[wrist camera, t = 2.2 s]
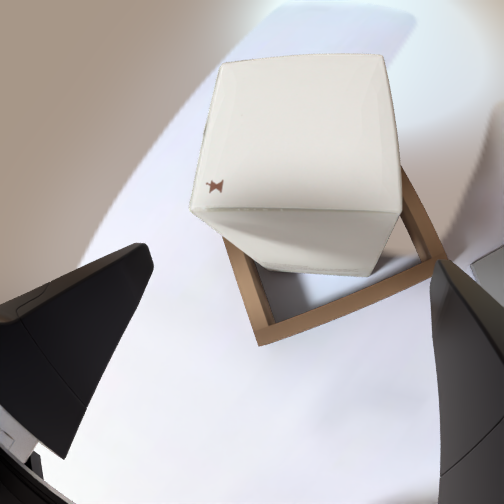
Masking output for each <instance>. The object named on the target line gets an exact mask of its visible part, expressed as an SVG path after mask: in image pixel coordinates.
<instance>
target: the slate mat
mask: <svg viewBox="0 0 504 504" xmlns="http://www.w3.org/2000/svg"><path fill="white" fill-rule="evenodd" d="M470 267H471V269H472V272H473V274H474V277H475V279H476V282H477V283H478V284H479V285H480V286H481V287H482V288H483V289H484V290H486V291H487V292H488V293H489V294H490V295H491V296H492V297H493V298H494V299H495V300H496V301H498V302H499V303H500V304H501V305H502V306H503V307H504V246H503V247H501V248H500V249H498V250H496V251H495V252H493V253H491V254H489V255H488V256H486V257H484V258H482V259H480V260H479V261H477V262H475V263H473V264H471V265H470Z"/></svg>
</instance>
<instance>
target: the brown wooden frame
mask: <svg viewBox="0 0 504 504" xmlns="http://www.w3.org/2000/svg"><path fill="white" fill-rule="evenodd" d="M401 179H402V212H401V214H400V216H401V218H402V220H403V223H404V225H405V227H406V229H407V230H408V233H409V235H410V237H411V240H412V242H413V244H414V246H415V248H416V251H417V253H418V255H419V257H420V260H421V262H422V263H420V264H418V265H416V266H414V267H412V268H409V269H407V270H405V271H403V272H401V273H399V274H396V275H394V276H392V277H390V278H387V279H385V280H383V281H381V282H378V283H376V284H374V285H371V286H369V287H367V288H364V289H362V290H360V291H357V292H355V293H353V294H350V295H348V296H345V297H343V298H340V299H338V300H336V301H333V302H331V303H328V304H326V305H323V306H321V307H318V308H316V309H313V310H310V311H308V312H305V313H303V314H300V315H297V316H295V317H292V318H289V319H287V320H284V321H281V322H279V323H275V320H274V317H273V314H272V311H271V308H270V305H269V303H268V300H267V297H266V294H265V291H264V288H263V285H262V283H261V280H260V277H259V274H258V271H257V268H256V265H255V263H254V260H253V259H252V258H251V257H250V256H248V255H247V254H246V253H244V252H243V251H242V250H240V249H239V248H238V247H236V246H235V245H234V244H232V243H231V242H230V241H229V240H227V239H226V238H225V237H223V236H222V237H223V241H224V244H225V247H226V250H227V253H228V256H229V259H230V262H231V265H232V268H233V271H234V275H235V278H236V281H237V284H238V287H239V290H240V293H241V296H242V299H243V302H244V305H245V308H246V311H247V314H248V317H249V320H250V323H251V326H252V329H253V332H254V334H255V337H256V340H257V343H258V346H263V345H267V344H270V343H273V342H276V341H279V340H282V339H284V338H287V337H290V336H293V335H296V334H298V333H301V332H304V331H306V330H309V329H312V328H314V327H317V326H320V325H322V324H325V323H327V322H330V321H332V320H335V319H337V318H340V317H342V316H345V315H347V314H350V313H352V312H355V311H357V310H359V309H362V308H364V307H367V306H369V305H371V304H374V303H376V302H378V301H380V300H383V299H385V298H387V297H390V296H392V295H394V294H396V293H398V292H401V291H403V290H405V289H407V288H409V287H411V286H414V285H416V284H418V283H420V282H422V281H424V280H426V279H428V278H430V277H432V274H433V270H434V266H435V263H436V261H437V260H438V259H445V260H448V258H447V255H446V253H445V251H444V248H443V246H442V244H441V242H440V240H439V237H438V235H437V233H436V231H435V229H434V227H433V225H432V223H431V220H430V219H429V216H428V215H427V212H426V211H425V208H424V207H423V205H422V203H421V201H420V199H419V197H418V195H417V194H416V191H415V189H414V188H413V186H412V184H411V182H410V181H409V179H408V177H407V175H406V173H405V172H404V170H403V168H402V166H401Z"/></svg>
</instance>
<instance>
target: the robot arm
mask: <svg viewBox="0 0 504 504" xmlns="http://www.w3.org/2000/svg"><path fill="white" fill-rule="evenodd" d="M153 269H154V264H153V260H152V257H151V254H150V251H149V248H148V246H147V245H146V244H145V243H134V244H131V245H129V246H127V247H125V248H122V249H120V250H118V251H115V252H113V253H111V254H109V255H106V256H104V257H102V258H100V259H98V260H95V261H93V262H91V263H89V264H87V265H84V266H82V267H80V268H78V269H76V270H74V271H72V272H69V273H67V274H65V275H63V276H61V277H59V278H57V279H55V280H53V281H51V282H48V283H46V284H44V285H42V286H40V287H38V288H36V289H34V290H32V291H30V292H27V293H25V294H23V295H21V296H19V297H16V298H14V299H12V300H9V301H7V302H5V303H3V304H1V305H0V504H76V503H74V502H73V501H71V500H70V499H68V498H67V497H65V496H64V495H63V494H61V493H60V492H58V491H57V490H56V489H54V488H53V487H52V486H50V485H49V484H48V483H46V482H45V481H44V479H43V472H42V466H41V459H40V455H39V454H37V453H36V452H35V451H33V450H34V448H35V447H36V445H37V444H38V442H39V443H40V444H42V445H43V446H45V447H46V448H47V449H49V450H50V451H52V452H53V453H54V454H56V455H57V456H59V457H60V458H62V459H63V460H64V459H65V458H66V456H67V454H68V451H69V449H70V446H71V444H72V442H73V439H74V437H75V435H76V432H77V430H78V428H79V425H80V423H81V421H82V419H83V416H84V414H85V412H86V410H87V408H86V407H88V405H89V403H90V400H91V398H92V396H93V394H94V392H95V390H96V388H97V386H98V383H99V381H100V379H101V377H102V375H103V373H104V371H105V369H106V367H107V365H108V363H109V361H110V359H111V357H112V355H113V353H114V351H115V349H116V347H117V345H118V343H119V341H120V339H121V337H122V335H123V333H124V331H125V330H126V328H127V326H128V324H129V322H130V320H131V318H132V316H133V314H134V313H135V311H136V309H137V307H138V305H139V302H140V300H141V298H142V295H143V293H144V291H145V288H146V286H147V284H148V281H149V279H150V277H151V275H152V272H153ZM430 302H431V320H432V338H433V347H434V354H435V363H436V372H437V382H438V394H439V410H440V440H441V456H440V483H439V498H438V504H504V307H503V306H502V305H501V304H500V303H499V302H498V301H496V300H495V299H494V298H493V297H492V296H491V295H490V294H489V293H488V292H487V291H486V290H484V289H483V288H482V287H481V286H480V285H479V284H478V283H477V282H475V281H474V280H473V279H472V278H471V277H470V276H469V275H467V274H466V273H465V272H464V271H463V270H462V269H460V268H459V267H458V266H457V265H456V264H454V263H453V262H452V261H451V260H445V259H438V260H437V261H436V263H435V266H434V270H433V274H432V278H431V282H430Z"/></svg>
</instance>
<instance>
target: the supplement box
mask: <svg viewBox="0 0 504 504" xmlns="http://www.w3.org/2000/svg"><path fill="white" fill-rule="evenodd" d="M189 211H190V212H191V213H193V214H194V215H195V216H196V217H198V218H199V219H201V220H202V221H203V222H205V223H206V224H207V225H209V226H210V227H211V228H212V229H214V230H215V231H216V232H218V233H219V234H220V235H222V236H223V237H225V238H226V239H227V240H229V241H230V242H231V243H232V244H234V245H235V246H236V247H238V248H239V249H240V250H242V251H243V252H244V253H246V254H247V255H248V256H250V257H251V258H252V259H254V260H255V261H256V262H258V263H259V264H260V265H262V266H263V267H264V268H266V269H267V270H268V271H279V272H294V273H308V274H323V275H337V276H353V277H369V276H370V275H371V273H372V271H373V269H374V267H375V265H376V263H377V261H378V259H379V257H380V255H381V253H382V251H383V249H384V247H385V245H386V243H387V241H388V239H389V236H390V234H391V232H392V230H393V228H394V226H395V224H396V222H397V220H398V217H399V215H400V214H401V212H402V179H401V165H400V155H399V144H398V136H397V128H396V121H395V114H394V108H393V102H392V97H391V91H390V85H389V79H388V75H387V70H386V66H385V62H384V58H383V56H382V55H375V54H305V55H291V56H280V57H270V58H261V59H251V60H242V61H235V62H226V63H223V64H222V65H221V66H220V68H219V71H218V75H217V79H216V83H215V88H214V92H213V96H212V100H211V104H210V108H209V113H208V117H207V121H206V124H205V128H204V132H203V139H202V144H201V149H200V154H199V159H198V164H197V169H196V174H195V179H194V184H193V189H192V194H191V199H190V202H189Z"/></svg>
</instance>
